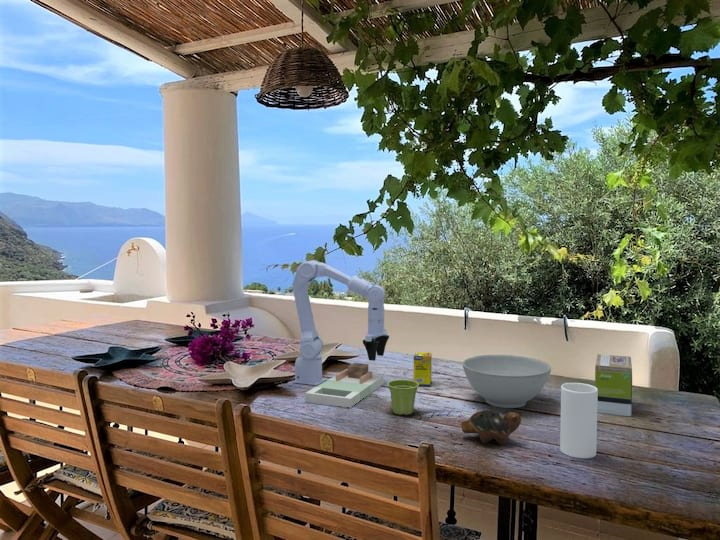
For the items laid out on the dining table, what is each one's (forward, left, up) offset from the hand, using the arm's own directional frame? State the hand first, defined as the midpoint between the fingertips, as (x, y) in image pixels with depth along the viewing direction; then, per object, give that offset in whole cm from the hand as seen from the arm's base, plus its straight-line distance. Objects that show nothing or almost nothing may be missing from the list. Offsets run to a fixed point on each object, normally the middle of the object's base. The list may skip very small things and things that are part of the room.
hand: (376, 357), depth 188 cm
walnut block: (-6, -2, -7) cm, 9 cm away
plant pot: (+18, -23, -10) cm, 31 cm away
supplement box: (+15, +7, -10) cm, 19 cm away
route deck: (-6, -12, -10) cm, 17 cm away
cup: (+67, -34, -10) cm, 76 cm away
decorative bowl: (+45, -2, -10) cm, 46 cm away
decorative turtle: (+46, -35, -10) cm, 59 cm away
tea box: (+76, +5, -10) cm, 77 cm away
